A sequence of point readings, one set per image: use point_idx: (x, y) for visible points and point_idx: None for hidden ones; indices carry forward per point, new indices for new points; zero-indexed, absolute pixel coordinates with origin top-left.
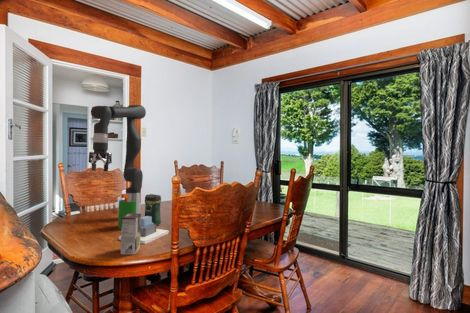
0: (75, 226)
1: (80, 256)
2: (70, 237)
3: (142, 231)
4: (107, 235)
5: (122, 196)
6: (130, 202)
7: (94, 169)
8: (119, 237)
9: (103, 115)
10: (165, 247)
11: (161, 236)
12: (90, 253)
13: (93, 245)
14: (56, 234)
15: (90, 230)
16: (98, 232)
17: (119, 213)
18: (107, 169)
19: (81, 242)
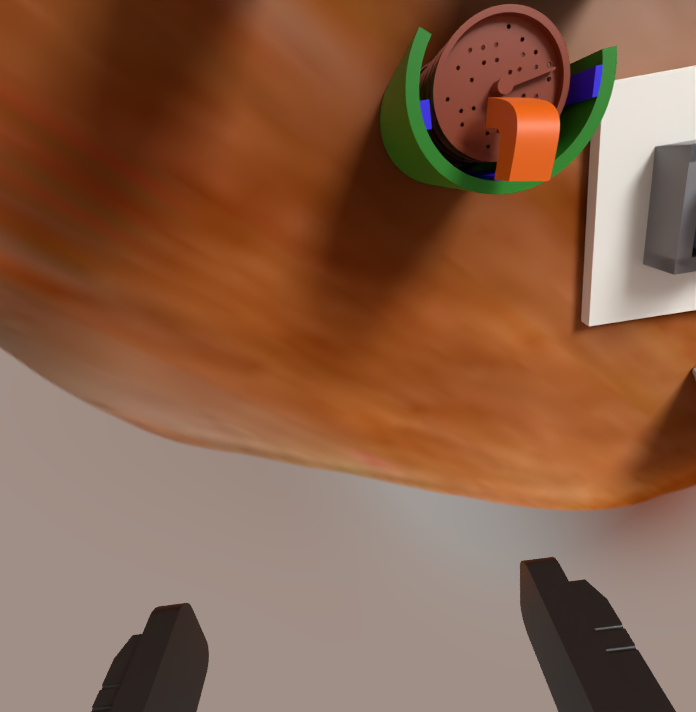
0: (165, 306)
1: (586, 505)
2: (350, 422)
3: None
4: (474, 309)
5: (501, 162)
6: (589, 135)
7: (190, 649)
8: (591, 324)
9: None
10: None
11: None
12: (596, 476)
13: (535, 426)
14: (252, 432)
15: (314, 305)
16: (386, 303)
17: (448, 187)
18: (602, 614)
19: (457, 432)
